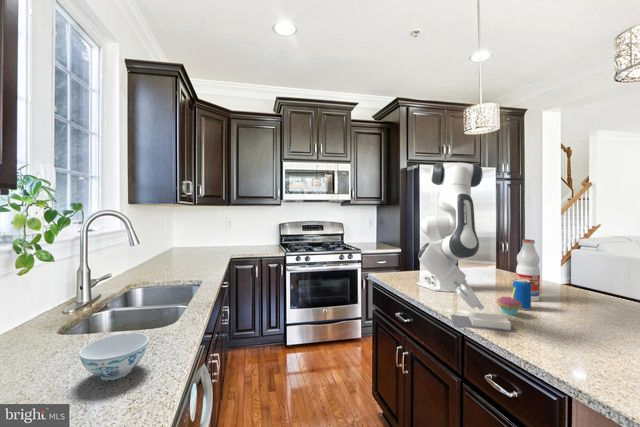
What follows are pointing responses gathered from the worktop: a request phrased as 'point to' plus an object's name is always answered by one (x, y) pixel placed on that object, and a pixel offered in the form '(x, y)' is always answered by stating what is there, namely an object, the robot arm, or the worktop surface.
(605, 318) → the worktop surface
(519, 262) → the fruit juice
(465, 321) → the mat
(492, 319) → the tile
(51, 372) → the worktop surface
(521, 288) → the beverage can
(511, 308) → the cupcake
